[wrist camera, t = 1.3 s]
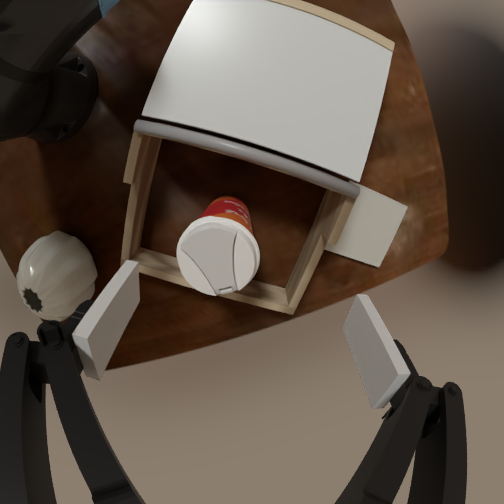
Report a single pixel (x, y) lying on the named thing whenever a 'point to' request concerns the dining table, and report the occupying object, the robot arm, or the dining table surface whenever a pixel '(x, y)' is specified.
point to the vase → (56, 276)
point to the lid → (274, 86)
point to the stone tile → (369, 227)
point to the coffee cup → (219, 248)
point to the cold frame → (255, 292)
